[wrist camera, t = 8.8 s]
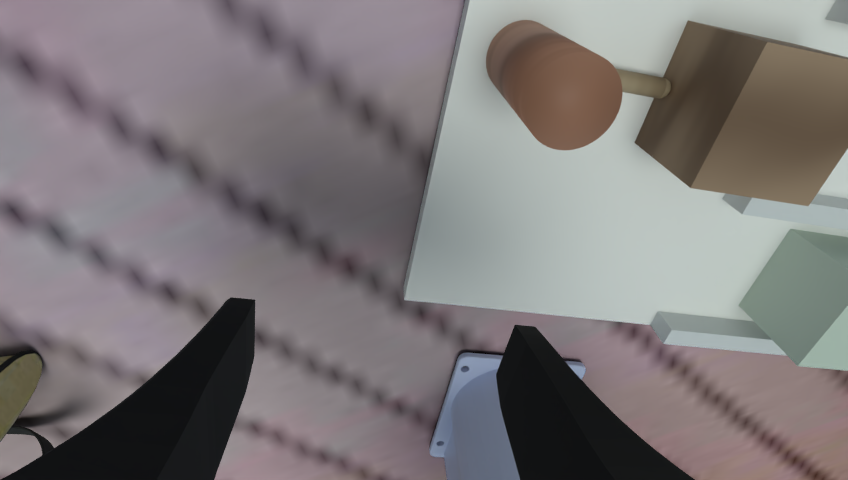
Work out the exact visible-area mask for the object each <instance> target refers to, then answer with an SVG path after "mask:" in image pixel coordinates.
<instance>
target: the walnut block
mask: <svg viewBox="0 0 848 480" xmlns="http://www.w3.org/2000/svg"><path fill="white" fill-rule="evenodd" d="M486 69H487V73H488V76H489V78H490V80H491V81H492V83H493V84H494V86H495V87H496V88H497V89H498V91H499V92H500V93H501V95H502V96H503V97H504V99H505V100H506V101H507V102H508V104H509V105H510V106H511V108H512V109H513V110H514V111H515V113H516V114H517V115H518V117H519V118H520V119H521V120H522V122H523V123H524V124H525V126H526V127H527V128H528V129H529V131H530V132H531V133H532V135H533V136H534V137H535V138H536V139H537V140H538V141H539V142H540V143H542V144H543V145H545V146H547V147H549V148H552V149H556V150H574V149H578V148H581V147H584V146H586V145H588V144H590V143H592V142H594V141H595V140H597V139H598V138H599V137H601V136H602V135H603V134H604V133H605V132H606V131H607V130H608V129H609V127H610V126H611V125H612V123H613V122H614V120H615V118H616V116H617V114H618V112H619V109H620V106H621V102H622V94H623V92H625V93H631V94H636V95H641V96H647V97H652V98H654V99H653V101H652V104H651V106H650V108H649V111H648V113H647V115H646V117H645V120H644V122H643V124H642V127H641V129H640V131H639V134H638V136H637V138H636V140H635V144H636V145H638V146H639V147H640V148H641V149H643V150H644V151H645V152H646V153H648V154H649V155H650V156H651V157H653V158H654V159H655V160H656V161H658V162H659V163H660V164H661V165H663V166H664V167H665V168H666V169H667V170H669V171H670V172H671V173H672V174H674V175H675V176H676V177H677V178H679V179H680V180H681V181H682V182H684V183H685V184H686V185H687V186H689V187H690V188H693V189H700V190H706V191H713V192H719V193H726V194H732V195H738V196H745V197H751V198H758V199H764V200H771V201H777V202H784V203H790V204H797V205H803V206H809V205H810V203H811V202H812V200H813V199H814V197H815V196H816V195H817V193H818V192H819V190H820V189H821V187H822V186H823V184H824V183H825V181H826V180H827V178H828V177H829V175H830V174H831V172H832V171H833V170H834V168H835V167H836V165H837V164H838V162H839V161H840V159H841V158H842V156H843V155H844V153H845V152H846V150H847V149H848V57H845V56H841V55H837V54H833V53H829V52H825V51H821V50H817V49H813V48H810V47H806V46H802V45H798V44H793V43H789V42H784V41H780V40H775V39H771V38H766V37H761V36H757V35H752V34H748V33H743V32H739V31H734V30H730V29H725V28H720V27H716V26H711V25H707V24H702V23H698V22H693V21H689V20H688V21H687V24H686V26H685V28H684V30H683V33H682V35H681V37H680V40H679V42H678V44H677V46H676V49H675V51H674V53H673V56H672V58H671V60H670V62H669V65H668V67H667V69H666V72H665V74H664V76H663V78H662V77H657V76H652V75H647V74H642V73H637V72H632V71H627V70H621V69H616V68H615V67H614V66H613V65H612V64H611V63H610V62H609V61H608V60H606V59H605V58H604V57H602V56H600V55H598V54H596V53H594V52H592V51H591V50H589V49H587V48H585V47H583V46H581V45H579V44H578V43H576V42H574V41H572V40H570V39H568V38H566V37H565V36H563V35H561V34H559V33H557V32H555V31H553V30H552V29H550V28H548V27H546V26H544V25H542V24H540V23H538V22H536V21H532V20H520V21H516V22H513V23H511V24H508V25H507V26H505V27H504V28H503V29H501V30H500V31H499V32H498V33H497V34H496V35H495V37H494V38H493V40H492V41H491V43H490V45H489V48H488V51H487V56H486Z"/></svg>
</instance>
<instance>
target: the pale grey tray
mask: <svg viewBox="0 0 848 480" xmlns="http://www.w3.org/2000/svg"><path fill="white" fill-rule="evenodd" d="M520 20H532V21H536V22H538V23H540V24H542V25H544V26H546V27H548V28H550V29H552V30H553V31H555V32H557V33H559V34H561V35H563V36H565V37H566V38H568V39H570V40H572V41H574V42H576V43H578V44H579V45H581V46H583V47H585V48H587V49H589V50H591V51H592V52H594V53H596V54H598V55H600V56H602V57H604V58H605V59H606V60H608V61H609V62H610V63H611V64H612V65H613V66H614V67H615V68H616V69H621V70H627V71H632V72H637V73H642V74H647V75H652V76H657V77H662V78H663V76H664V74H665V72H666V69H667V67H668V65H669V62H670V60H671V58H672V56H673V53H674V51H675V49H676V46H677V44H678V42H679V40H680V37H681V35H682V33H683V30H684V28H685V26H686V24H687V21H688V20H689V21H693V22H698V23H702V24H707V25H711V26H716V27H720V28H725V29H730V30H734V31H739V32H743V33H748V34H752V35H757V36H761V37H766V38H771V39H775V40H780V41H784V42H789V43H793V44H798V45H802V46H806V47H810V48H813V49H817V50H821V51H825V52H829V53H833V54H837V55H841V56H845V57H848V0H465V3H464V8H463V12H462V17H461V22H460V26H459V31H458V36H457V40H456V45H455V50H454V54H453V59H452V64H451V68H450V73H449V78H448V82H447V87H446V92H445V96H444V101H443V106H442V110H441V115H440V120H439V124H438V129H437V134H436V138H435V143H434V148H433V152H432V157H431V162H430V166H429V171H428V176H427V180H426V185H425V190H424V194H423V199H422V204H421V208H420V213H419V218H418V222H417V227H416V232H415V236H414V241H413V246H412V250H411V255H410V260H409V264H408V269H407V274H406V278H405V283H404V300H410V301H420V302H430V303H440V304H450V305H459V306H469V307H479V308H489V309H499V310H509V311H519V312H529V313H538V314H548V315H558V316H568V317H578V318H588V319H598V320H607V321H617V322H627V323H637V324H647V325H651V327H652V328H653V330H654V331H655V333H656V334H657V335H658V337H659V338H660V340H661V341H662V343H663V344H670V345H681V346H691V347H702V348H713V349H723V350H734V351H744V352H755V353H765V354H776V355H786V354H785V352H784V351H783V350H782V349H781V348H780V347H779V346H778V345H777V344H776V343H775V342H774V341H773V340H772V339H771V338H770V337H769V336H768V335H767V334H766V333H765V332H764V331H763V330H762V329H761V328H760V327H759V326H758V325H757V324H756V323H755V322H754V321H753V320H752V319H751V318H750V317H749V316H748V315H747V314H746V312H745V311H744V310H743V309H742V308H741V307H740V306H739V304H740V302H741V301H742V299H743V298H744V296H745V295H746V293H747V292H748V290H749V289H750V287H751V286H752V284H753V283H754V282H755V280H756V279H757V277H758V276H759V274H760V273H761V271H762V270H763V268H764V267H765V265H766V264H767V262H768V261H769V259H770V258H771V256H772V255H773V253H774V252H775V251H776V249H777V248H778V246H779V245H780V243H781V242H782V240H783V239H784V237H785V236H786V234H787V233H788V231H789V230H790V229H796V230H803V231H810V232H817V233H823V234H830V235H837V236H844V237H848V149H847V150H846V152H845V153H844V155H843V156H842V158H841V159H840V161H839V162H838V164H837V165H836V167H835V168H834V170H833V171H832V172H831V174H830V175H829V177H828V178H827V180H826V181H825V183H824V184H823V186H822V187H821V189H820V190H819V192H818V193H817V195H816V196H815V197H814V199H813V200H812V202H811V203H810V205H809V206H803V205H797V204H790V203H784V202H777V201H771V200H764V199H758V198H751V197H745V196H738V195H732V194H726V193H719V192H713V191H706V190H700V189H693V188H690V187H689V186H687V185H686V184H685V183H684V182H682V181H681V180H680V179H679V178H677V177H676V176H675V175H674V174H672V173H671V172H670V171H669V170H667V169H666V168H665V167H664V166H663V165H661V164H660V163H659V162H658V161H656V160H655V159H654V158H653V157H651V156H650V155H649V154H648V153H646V152H645V151H644V150H643V149H641V148H640V147H639V146H638V145H636V144H635V140H636V138H637V136H638V134H639V131H640V129H641V127H642V124H643V122H644V120H645V117H646V115H647V113H648V111H649V108H650V106H651V104H652V101H653V99H654V98H652V97H647V96H641V95H636V94H631V93H625V92H623V94H622V102H621V106H620V109H619V112H618V114H617V116H616V118H615V120H614V122H613V123H612V125H611V126H610V127H609V129H608V130H607V131H606V132H605V133H604V134H603V135H602V136H601V137H599V138H598V139H597V140H595V141H594V142H592V143H590V144H588V145H586V146H584V147H581V148H578V149H574V150H556V149H552V148H549V147H547V146H545V145H543V144H542V143H540V142H539V141H538V140H537V139H536V138H535V137H534V136H533V135H532V133H531V132H530V131H529V129H528V128H527V127H526V126H525V124H524V123H523V122H522V120H521V119H520V118H519V117H518V115H517V114H516V113H515V111H514V110H513V109H512V108H511V106H510V105H509V104H508V102H507V101H506V100H505V99H504V97H503V96H502V95H501V93H500V92H499V91H498V89H497V88H496V87H495V86H494V84H493V83H492V81H491V80H490V78H489V76H488V73H487V69H486V56H487V51H488V48H489V45H490V43H491V41H492V40H493V38H494V37H495V35H496V34H497V33H498V32H499V31H500V30H501V29H503V28H504V27H505V26H507V25H508V24H511V23H513V22H516V21H520Z"/></svg>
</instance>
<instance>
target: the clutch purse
mask: <svg viewBox="0 0 848 480" xmlns="http://www.w3.org/2000/svg"><path fill="white" fill-rule="evenodd" d="M41 371H42V361H41V358H40V356H39V355H38V354H37V353H35V352H34V351H22V352H19V353H17V354H16V355H13V356H4V357H0V442H1V440H2V439H3V438H4V436H5V435H6V434H26V435H32V436H35V437H36V438H37V439H38V441H39V443H40V445H41V448H42V454H43V455H44V454H46V453H47V452H49V451H51V450H52V449H54V447H53V446H52V444H51V443H50V442H49V441H48V440H47V439H45V438H44V437H42V436H41V435H39V434H37V433H35V432H34V431H32V430H30V429H28V428H25V427H19V426H12V425H13V424H14V423H15V421H16V420H17V418H18V417H19V415H20V414H21V412H22V411H23V409H24V408H25V406H26V405H27V403H28V401H29V399H30V398H31V396H32V394H33V392H34V390H35V389H36V386H37V384H38V381H39V378H40V376H41ZM43 455H42V456H43Z"/></svg>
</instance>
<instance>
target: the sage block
mask: <svg viewBox="0 0 848 480" xmlns="http://www.w3.org/2000/svg"><path fill="white" fill-rule="evenodd" d="M739 306H740V307H741V308H742V309H743V310H744V311H745V312H746V314H747V315H748V316H749V317H750V318H751V319H752V320H753V321H754V322H755V323H756V324H757V325H758V326H759V327H760V328H761V329H762V330H763V331H764V332H765V333H766V334H767V335H768V336H769V337H770V338H771V339H772V340H773V341H774V342H775V343H776V344H777V345H778V346H779V347H780V348H781V349H782V350H783V351H784V352H785V354H786V355H787V356H788V357H789V358H790V359H791V360H792V361H793V362H794V363H795V364H796V365H797V366H803V367H814V368H825V369H836V370H847V371H848V237H844V236H837V235H830V234H823V233H817V232H810V231H803V230H796V229H790V230H789V231H788V233H787V234H786V236H785V237H784V239H783V240H782V242H781V243H780V245H779V246H778V248H777V249H776V251H775V252H774V253H773V255H772V256H771V258H770V259H769V261H768V262H767V264H766V265H765V267H764V268H763V270H762V271H761V273H760V274H759V276H758V277H757V279H756V280H755V282H754V283H753V284H752V286H751V287H750V289H749V290H748V292H747V293H746V295H745V296H744V298H743V299H742V301H741V302H740V304H739Z"/></svg>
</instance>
